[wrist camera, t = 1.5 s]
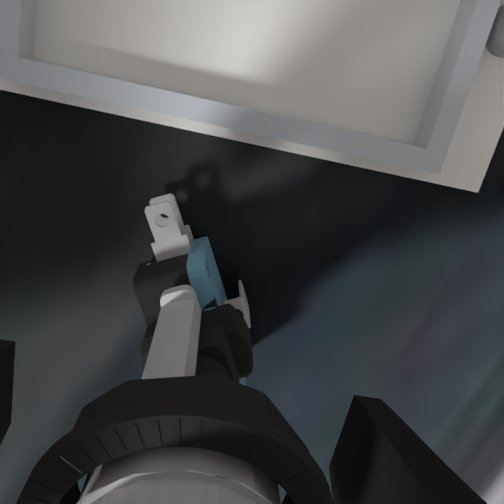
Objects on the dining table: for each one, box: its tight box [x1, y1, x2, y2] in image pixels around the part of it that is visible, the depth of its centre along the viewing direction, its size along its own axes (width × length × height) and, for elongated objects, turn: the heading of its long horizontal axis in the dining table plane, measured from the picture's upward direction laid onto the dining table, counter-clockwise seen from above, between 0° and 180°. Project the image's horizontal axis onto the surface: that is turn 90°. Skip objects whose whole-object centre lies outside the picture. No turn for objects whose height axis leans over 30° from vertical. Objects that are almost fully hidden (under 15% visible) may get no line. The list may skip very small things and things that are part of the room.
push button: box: [17, 193, 334, 504], centre depth 11 cm, size 7×5×10 cm
